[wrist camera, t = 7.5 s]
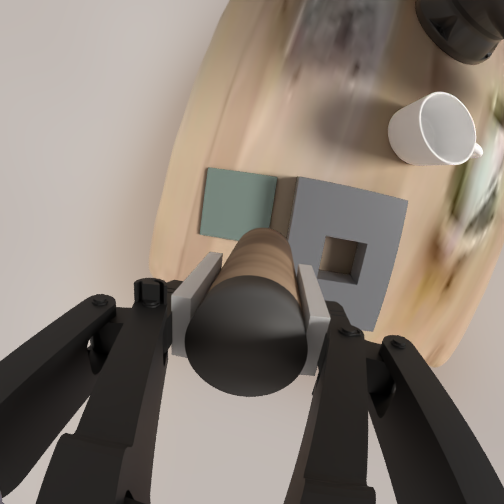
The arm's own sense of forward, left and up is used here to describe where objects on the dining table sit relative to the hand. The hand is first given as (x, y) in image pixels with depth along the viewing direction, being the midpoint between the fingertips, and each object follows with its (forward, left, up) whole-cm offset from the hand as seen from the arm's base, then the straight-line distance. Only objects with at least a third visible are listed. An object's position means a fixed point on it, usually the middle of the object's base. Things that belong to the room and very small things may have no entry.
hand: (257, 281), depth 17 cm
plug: (0, 0, -6) cm, 6 cm away
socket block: (+2, +10, -22) cm, 24 cm away
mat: (-2, -4, -22) cm, 22 cm away
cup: (-16, +20, -22) cm, 33 cm away
